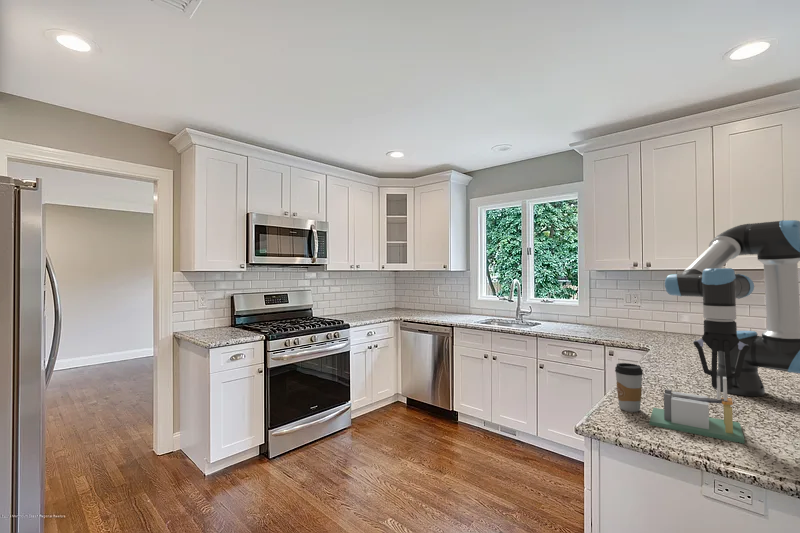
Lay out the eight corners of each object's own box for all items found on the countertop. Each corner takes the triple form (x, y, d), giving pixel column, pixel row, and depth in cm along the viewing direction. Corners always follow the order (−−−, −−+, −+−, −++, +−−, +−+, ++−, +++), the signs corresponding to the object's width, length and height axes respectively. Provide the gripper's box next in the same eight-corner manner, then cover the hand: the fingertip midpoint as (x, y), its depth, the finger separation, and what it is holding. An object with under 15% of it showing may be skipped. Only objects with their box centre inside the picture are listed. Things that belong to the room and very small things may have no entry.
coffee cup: (610, 405, 136) (609, 363, 136) (632, 404, 136) (631, 362, 136) (626, 414, 127) (625, 369, 127) (649, 412, 128) (648, 368, 128)
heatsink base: (649, 424, 118) (648, 395, 118) (653, 411, 129) (652, 384, 129) (744, 443, 105) (743, 410, 105) (739, 426, 116) (739, 396, 116)
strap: (665, 402, 120) (665, 399, 120) (666, 398, 123) (666, 395, 123) (733, 405, 110) (732, 401, 110) (732, 401, 113) (731, 397, 113)
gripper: (749, 319, 112) (752, 400, 111) (690, 317, 120) (692, 391, 120) (752, 322, 106) (755, 407, 105) (690, 319, 114) (692, 398, 114)
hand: (722, 399), depth 113 cm, fingers closed
